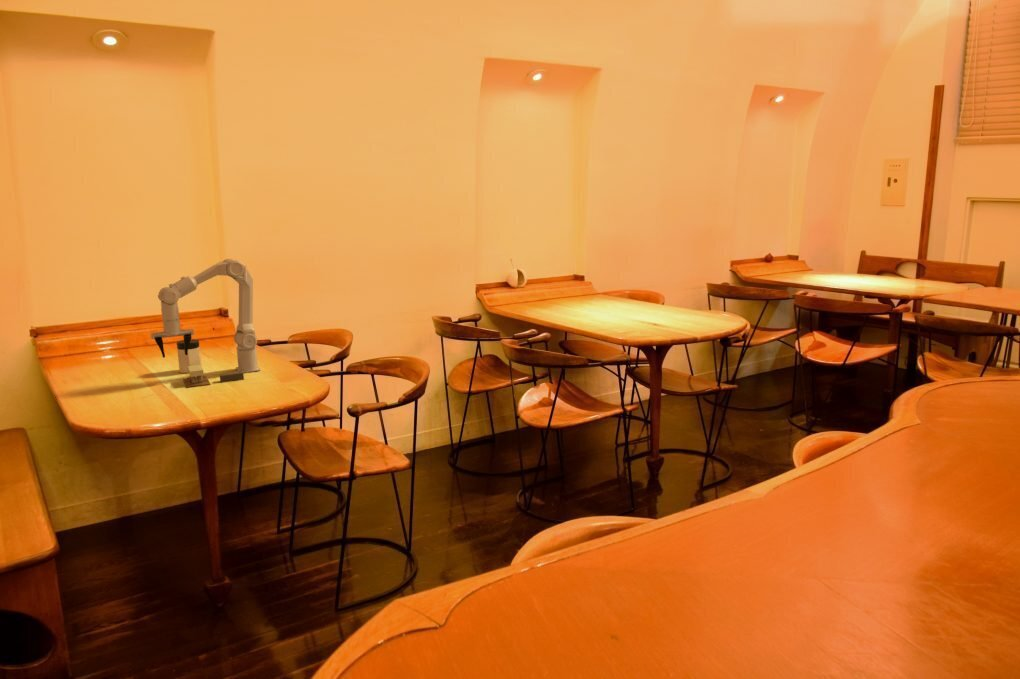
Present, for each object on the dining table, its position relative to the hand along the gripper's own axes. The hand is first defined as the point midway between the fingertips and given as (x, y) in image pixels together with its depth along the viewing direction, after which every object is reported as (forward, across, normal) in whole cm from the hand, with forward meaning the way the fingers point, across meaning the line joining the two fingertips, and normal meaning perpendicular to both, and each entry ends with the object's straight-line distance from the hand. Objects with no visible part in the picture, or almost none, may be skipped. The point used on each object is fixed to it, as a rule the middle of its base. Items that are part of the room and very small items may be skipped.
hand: (175, 355), depth 274 cm
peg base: (+10, +6, -5) cm, 13 cm away
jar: (+10, +6, +16) cm, 20 cm away
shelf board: (+6, +6, -5) cm, 10 cm away
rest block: (+10, +18, -9) cm, 22 cm away
